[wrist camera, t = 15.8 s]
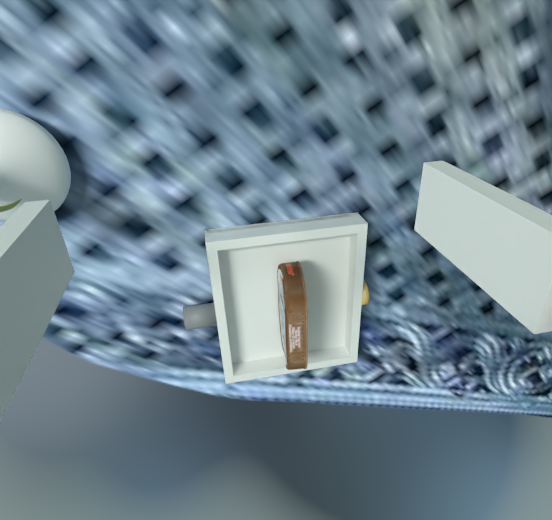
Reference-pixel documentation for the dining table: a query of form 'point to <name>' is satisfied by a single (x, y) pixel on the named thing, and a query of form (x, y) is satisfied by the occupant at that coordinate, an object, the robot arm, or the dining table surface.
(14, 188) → the flower in vase
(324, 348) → the white square dish
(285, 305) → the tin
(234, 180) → the dining table surface
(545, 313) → the robot arm
